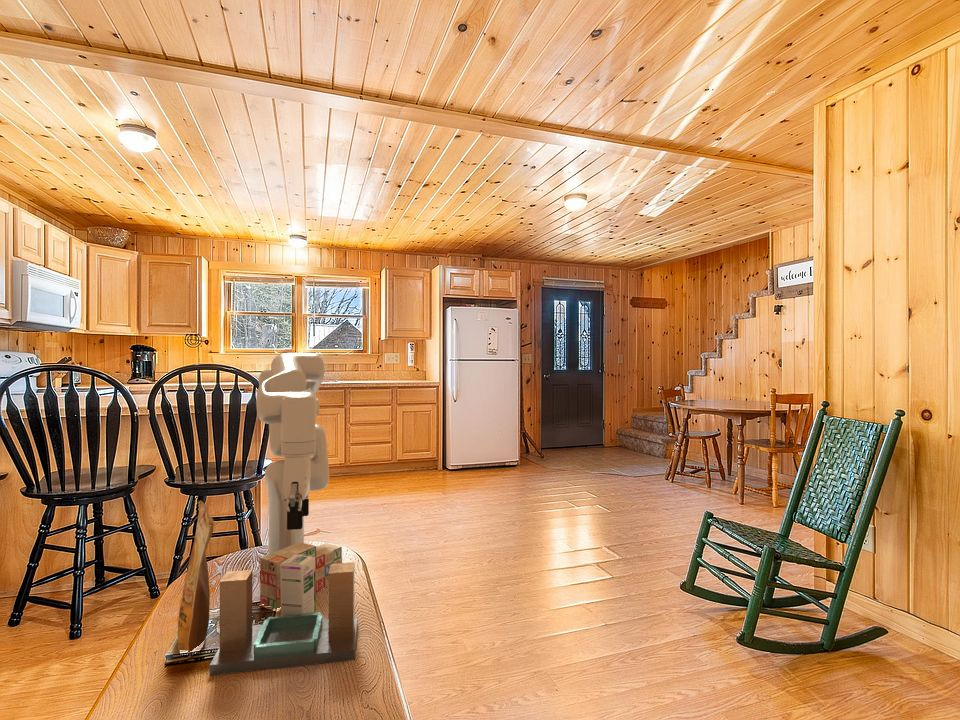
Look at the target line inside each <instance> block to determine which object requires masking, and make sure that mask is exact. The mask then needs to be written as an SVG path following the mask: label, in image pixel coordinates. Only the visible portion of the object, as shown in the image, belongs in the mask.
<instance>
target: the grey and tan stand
mask: <svg viewBox="0 0 960 720" xmlns="http://www.w3.org/2000/svg"><path fill="white" fill-rule="evenodd" d="M253 570H254V569H244V570H232V571H231V570H230V571H226V572H225V573H224V575H223V576H222V577H221V579H220V580H219V647H218V649H217V650H216V653H215V654H214V656H213V658H212V660H211V661H210V663H209V667H208V668H209V675H208V676H218V675H226V674H235V673H236V674H237V673H247V672H254V671H263V670H265V671H266V670H272V669H282V668H290V667H291V668H292V667H300V666H311V665H318V664H327V663H336V662H337V663H339V662H347V661H354V660H355V658H356V645H357V636H358V626H359V624H358V622H359V619H358V615H355V562H342V563H337V564H331V565H330V570H329V586H328V606H327V607H328V611H327V612H328V613H327V614H328V617H327V618H324V617H323V615H324V614H322V612H321V611H320V612H318V611H317V612H316V613H307V614H296V615H285V616H281V615H275V616H268V617H267V619H264V621H263V623H262V624H253V582H254V581H253V575H254V574H253Z"/></svg>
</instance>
